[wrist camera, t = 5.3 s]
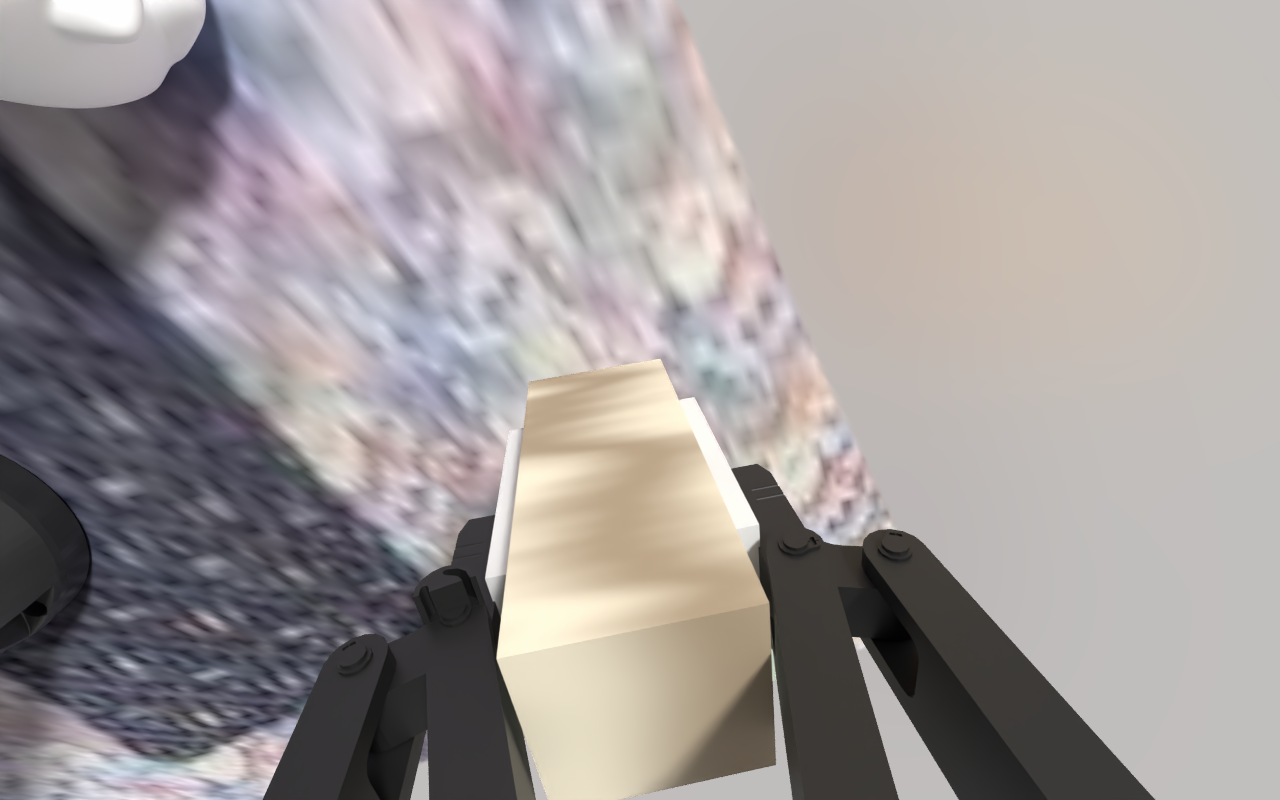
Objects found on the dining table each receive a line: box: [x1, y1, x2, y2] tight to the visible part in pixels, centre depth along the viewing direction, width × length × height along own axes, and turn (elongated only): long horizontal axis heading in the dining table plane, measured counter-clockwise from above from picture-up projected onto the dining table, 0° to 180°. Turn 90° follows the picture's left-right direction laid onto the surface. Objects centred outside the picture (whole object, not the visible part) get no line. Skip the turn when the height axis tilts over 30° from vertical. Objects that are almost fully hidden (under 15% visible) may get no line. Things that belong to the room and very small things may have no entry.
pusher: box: [496, 359, 776, 800], centre depth 18 cm, size 4×18×11 cm, turn 8°
